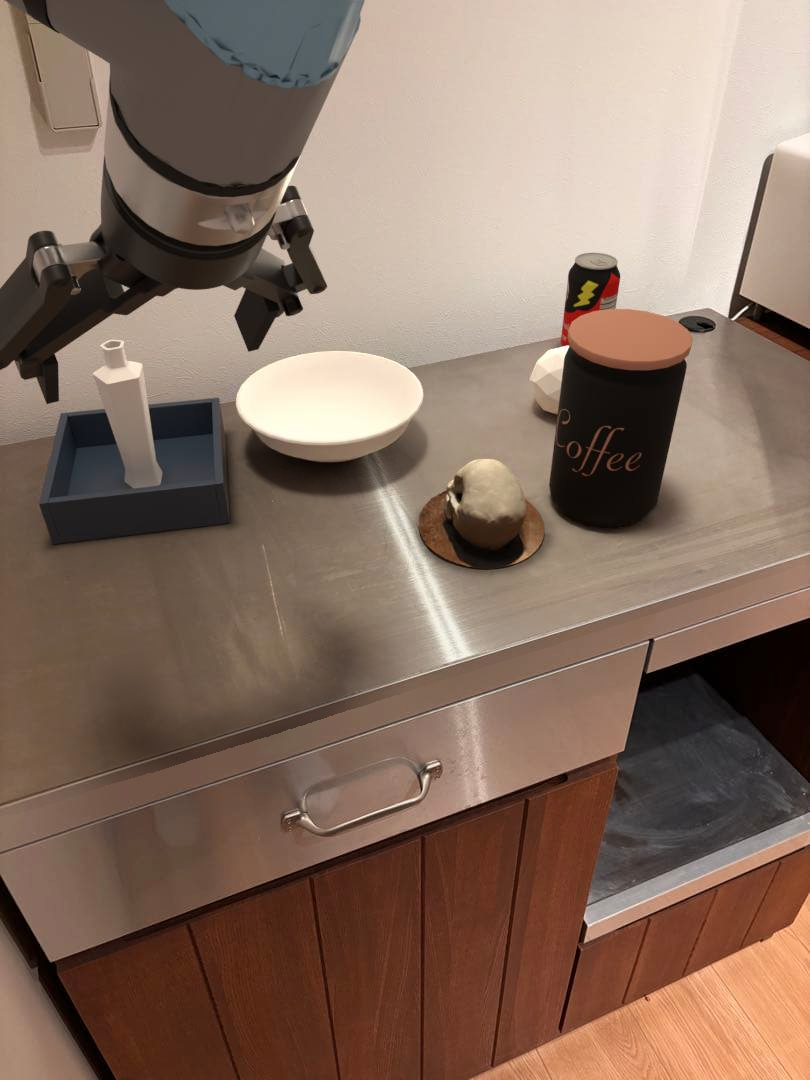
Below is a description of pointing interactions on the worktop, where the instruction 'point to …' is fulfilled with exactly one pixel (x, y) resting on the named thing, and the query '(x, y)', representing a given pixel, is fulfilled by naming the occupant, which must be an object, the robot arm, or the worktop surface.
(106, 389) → the perfume bottle
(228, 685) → the worktop surface
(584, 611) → the worktop surface
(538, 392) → the geometric ball
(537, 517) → the skull
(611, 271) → the beverage can
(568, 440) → the coffee jar
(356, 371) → the bowl
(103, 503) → the bin
